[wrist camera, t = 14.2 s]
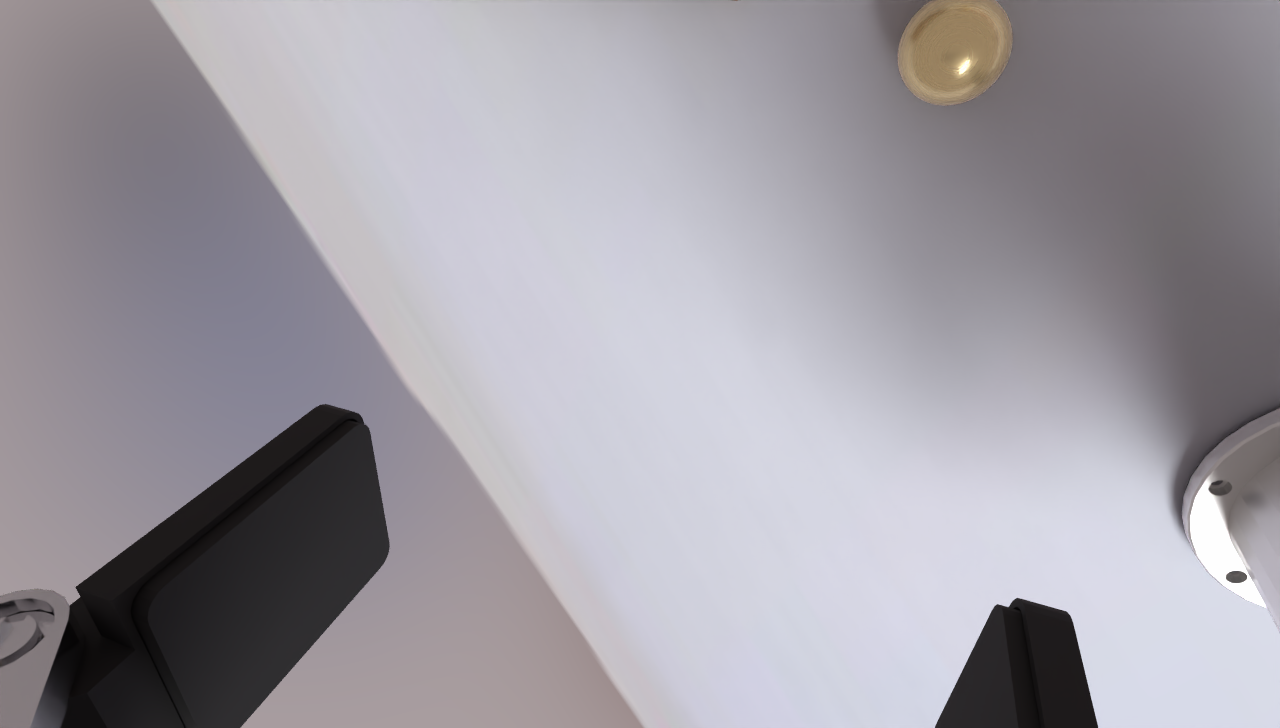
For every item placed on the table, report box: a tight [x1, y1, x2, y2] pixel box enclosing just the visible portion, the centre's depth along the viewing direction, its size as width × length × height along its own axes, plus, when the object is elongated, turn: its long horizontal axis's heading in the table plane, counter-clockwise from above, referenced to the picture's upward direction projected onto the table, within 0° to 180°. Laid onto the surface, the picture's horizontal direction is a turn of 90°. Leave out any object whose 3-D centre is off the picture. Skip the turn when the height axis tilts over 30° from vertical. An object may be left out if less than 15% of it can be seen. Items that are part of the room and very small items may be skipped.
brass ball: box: [898, 0, 1013, 106], centre depth 27 cm, size 4×4×4 cm
